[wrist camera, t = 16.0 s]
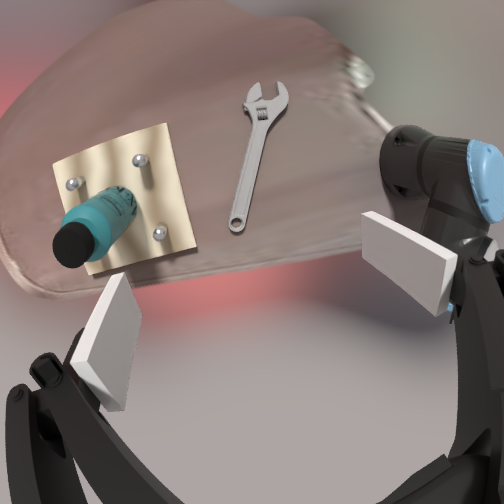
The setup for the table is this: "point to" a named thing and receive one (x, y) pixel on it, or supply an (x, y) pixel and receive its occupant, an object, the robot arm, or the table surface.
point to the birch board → (143, 187)
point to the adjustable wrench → (255, 146)
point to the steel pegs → (137, 162)
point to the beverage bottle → (94, 226)
